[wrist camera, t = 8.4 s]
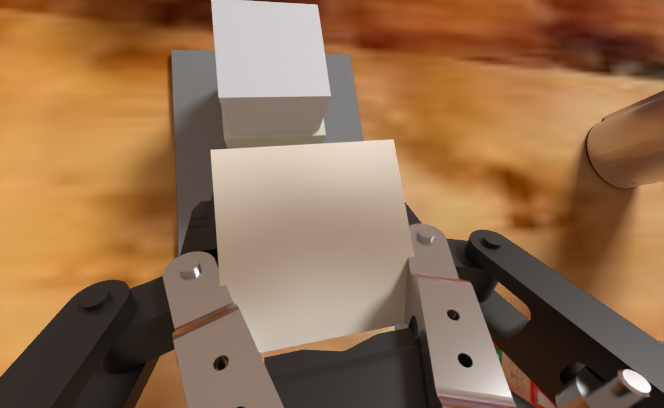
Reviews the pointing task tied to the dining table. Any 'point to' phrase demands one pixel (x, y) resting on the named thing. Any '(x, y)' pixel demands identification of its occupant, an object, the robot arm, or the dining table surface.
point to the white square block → (270, 65)
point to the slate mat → (207, 125)
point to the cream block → (312, 239)
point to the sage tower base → (272, 137)
